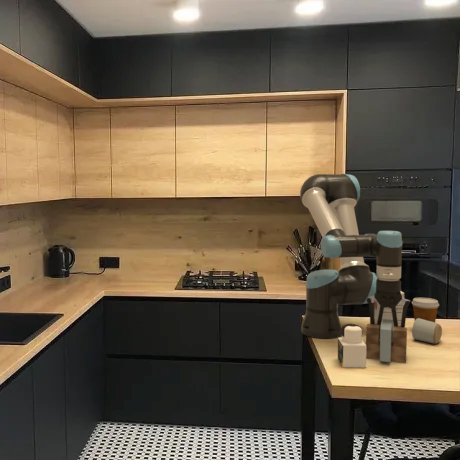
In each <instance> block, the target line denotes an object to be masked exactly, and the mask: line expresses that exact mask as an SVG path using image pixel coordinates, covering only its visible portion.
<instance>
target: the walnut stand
mask: <svg viewBox="0 0 460 460" xmlns="http://www.w3.org/2000/svg"><path fill="white" fill-rule="evenodd" d="M379 336H380V325H375V324H370V323H367V324H366V327H365V344H366V359H371V360H379V361H380V340H379ZM407 341H408V327H395V326H394V340H393V342H391V360H390V362H396V363H403V364H406V363H407V345H408V344H407Z"/></svg>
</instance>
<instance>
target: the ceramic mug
mask: <svg viewBox="0 0 460 460" xmlns="http://www.w3.org/2000/svg"><path fill="white" fill-rule="evenodd" d="M442 328H443V327H442V325H441V324H440V323H437V322H436V321H435V322H431V321H427V320H423V319H420V318H417V319H416V320H414V321H413V325H412V330H411V336H412V338H413V340H414V341H415V340H416V341H420V342H424V343H430V344H438V343H439V342H440V341H441V338H442V335H443V329H442Z"/></svg>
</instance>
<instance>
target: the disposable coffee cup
mask: <svg viewBox="0 0 460 460" xmlns="http://www.w3.org/2000/svg"><path fill="white" fill-rule="evenodd" d="M411 304H412V308H413V309H412V310H413V316H414V317H413V318H414V319H413V320H414V321H415V320H416V319H417V318H420V319H423V320H427V321H431V322H435V323H436V319H437V313H438V308H439V307H440V303H439V301H438V300H437V299H435V298H430V297H414V298H413V299H412V301H411Z"/></svg>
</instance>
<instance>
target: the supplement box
mask: <svg viewBox="0 0 460 460" xmlns="http://www.w3.org/2000/svg"><path fill="white" fill-rule="evenodd" d="M401 295H402V298H404V299H405V292H403V291H402V290H401ZM379 310H380V304H379V303H378V302H377V300H376V299H375V300H374V319H375V324H377V321H378V316H379ZM402 311H403V305H402V301H400V302H399V303H398V304H397V306H396V313H397V320H398V326H401V319H402ZM383 319H390V320H393V317H392V311H391V308H389V307H386V308H384V311H383V316H382V321H383ZM381 325H382V322H381ZM380 329H381V327H380ZM392 330H394V324H393V327H392Z"/></svg>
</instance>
